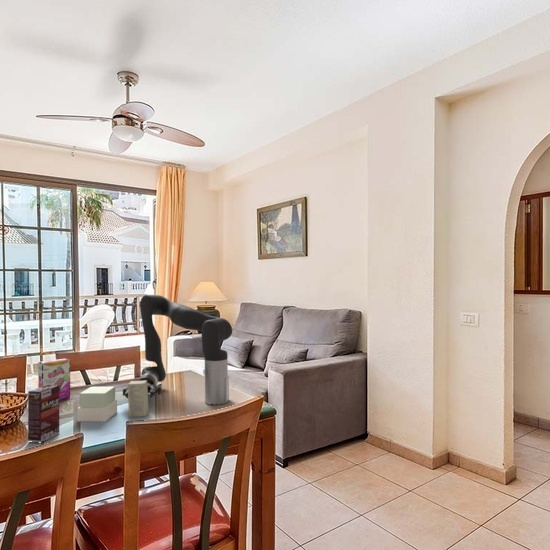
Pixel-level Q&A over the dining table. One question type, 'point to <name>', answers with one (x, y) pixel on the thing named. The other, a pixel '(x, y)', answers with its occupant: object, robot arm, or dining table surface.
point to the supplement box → (43, 413)
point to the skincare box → (138, 398)
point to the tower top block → (97, 397)
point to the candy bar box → (55, 375)
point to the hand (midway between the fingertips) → (139, 394)
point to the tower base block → (97, 412)
